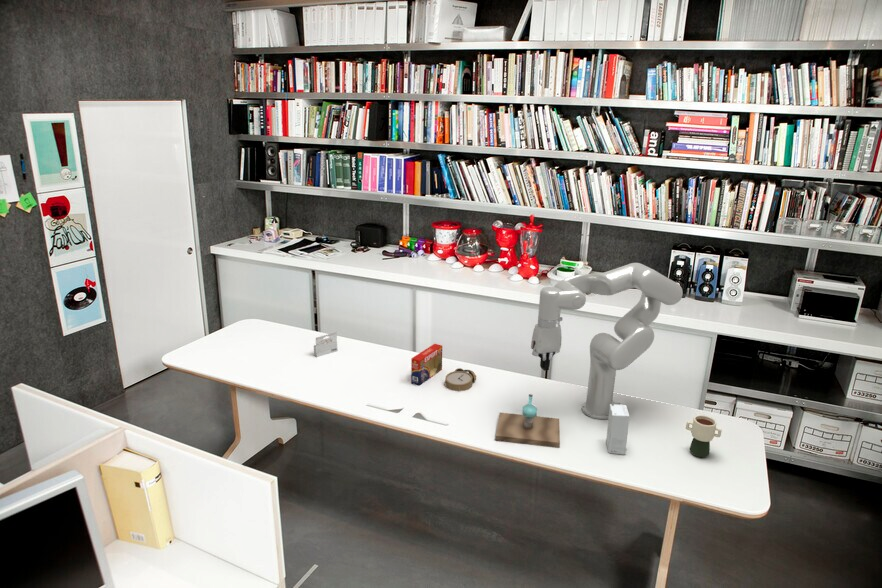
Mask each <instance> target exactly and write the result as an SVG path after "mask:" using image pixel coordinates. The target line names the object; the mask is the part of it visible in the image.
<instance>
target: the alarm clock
mask: <svg viewBox="0 0 882 588" xmlns="http://www.w3.org/2000/svg"><path fill="white" fill-rule="evenodd" d="M475 373H476V372H474V371H473V370H471V369H463V368H461V367H458V368H456V369H455V370H454V371H451V372H448V373H447V374H446V375H445V383H444V384H443V385H444V386H446V388H448V390H449V389H450V390H451V391H455V392H463V391H468V390H470V389H471V388H472V386H473V383H475V382H476V380H477V375H476V374H475Z"/></svg>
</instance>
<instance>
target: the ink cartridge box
mask: <svg viewBox="0 0 882 588" xmlns="http://www.w3.org/2000/svg"><path fill="white" fill-rule="evenodd" d="M337 334H338V333H337V331H335V332H332V333H329V334H326V335H320V336H318V337H315V344H314V345H313V353H314V357H316V358H318V357H322V356H325V355H329V354H334V353H336V352H338V351H339V350H338V339H337V338H338V337H337V336H338V335H337ZM326 337H328V338H326Z"/></svg>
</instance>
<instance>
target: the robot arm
mask: <svg viewBox="0 0 882 588" xmlns="http://www.w3.org/2000/svg"><path fill="white" fill-rule="evenodd" d="M634 288H635V289H637V290H639V291H640V292H641V296H640V299H639V301H638V302H637V303H636V304H635V305H634V306H633V307H632V308H631V309H630V310H629V311H628V312H626V313H625V314H624V315H623V316H622V317H620V319H619V320H617V322H616V323H615V324H614V327H613V331H614V333H615V335H616V336H617V337H618V338H619V339H621V340H622V341H620V340H619V339H617V338H616V337H614V336H613V335H612V334H610V333H606V332H600V333H597V334H595V335H593V337H592V338H591V341H590V344H589V357H590V359H589V361H590V363H589V375H588V383H587V384H588V385H587V389H586V390H587V393H586V400H585V401H584V402H583V403H582V404H581V409H580V410H581V411H582V413H583V414H584V415H585V416H588V417H589V418H593V419H597V420H608V417H609V407H610V404H616V405H621V403H620V402H614V401H613V398H614V389H615V381H616V376H617V371H620V370H624V369H626V368H627V367H628V366H630V365H631V364H632V363H634V361H636V360H637V359H638V358H639V357H640V356H642V355H643V354H644V353H645V352H647V350H648V349H649V348H650V347H651V346H652V344H653V342H654V340H655V332H654V329H653V328H652V327H651V326H650V325H651V324H652V323H653V322H654V321H655V320H656V319H657V318H658V316H659V314H660V311H661V306H662V304H664V305H667V306H673V305H676V304H678V303H679V302H680V301H681V299H682V298H683V288H682V287H681V285H680V284H679V283H677V282H676V281H674V280H672V279H671V278H668V277H667V276H665V275H663V274H661V273H660V272H658V271H657V270H655V269H653V268H651V267H650V266H648V265H647V266H646V265H645V264H643V263H640V262H631V263H628V264H626V265H623V266H620V267H616V268H613V269H611V270H608V271H605V272H599V273H598V272H595V273H585V274H577V275H573V276H570V277H567V278H564V279H562V280H559V281H558V282H556V283H555V284H554V286H544V287H542V288H541V290H540V293H539V302H538V303H539V304H538V314H537V315H538V317H537V323H536V324H535V325H534V328H533V331H532V336H531V342H530V343H531V344H530V349H531V350H532V352H531V355H532V356H533V357H539V358H540V360H539V361H540V363H539V366H540V369H542V370H543V371H545V372H546V371H549V370H550V364H551V360H552V359H553V357H554V355H556V354H559V353H561V347H562V338H563V337H562V327H561V322H562V321H563V317H562V316H561V312H562V311H561V310H568V311H569V310H570V311H574V310H576V311H577V310H579V309H582V308H583V307H584V305H585V304H586V302H587V297H586V295H585V294H595V295H598V296H599V295H600V296H607V297H608V296H609V297H611V296H613V295H616V294H619V293H621V292H625V291H627V290H630V289H634Z"/></svg>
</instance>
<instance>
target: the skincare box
mask: <svg viewBox="0 0 882 588" xmlns="http://www.w3.org/2000/svg"><path fill="white" fill-rule="evenodd" d="M629 423H630V413H629V410H628V406H627V405H626V404H620V405H616V404H610V407H609V417H608V419H607V429H606V439H605V440H606V445H607V446H606V448H607V451H608V454H615V455H616V454H617V455H623V456H624V455H626V452H627V445H628V444H627V443H628V442H627V441H628V432H629Z"/></svg>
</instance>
